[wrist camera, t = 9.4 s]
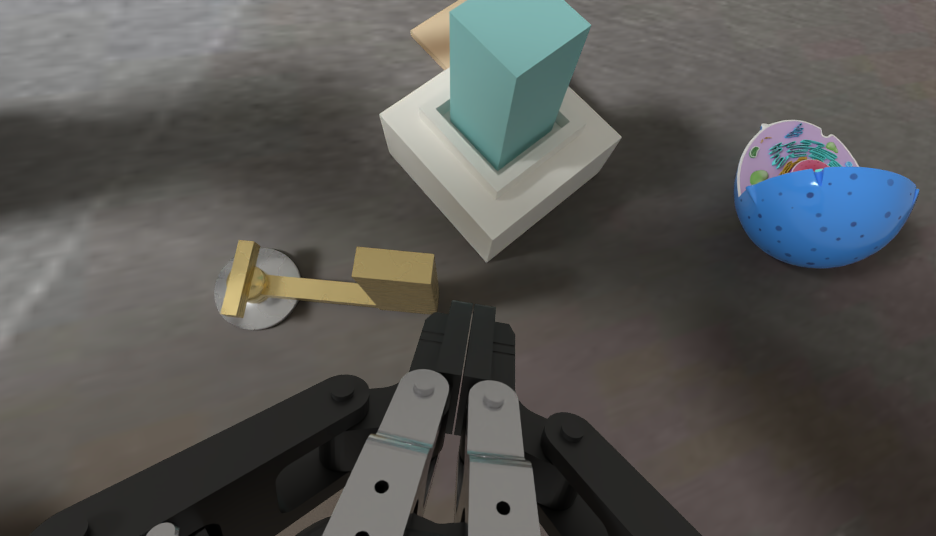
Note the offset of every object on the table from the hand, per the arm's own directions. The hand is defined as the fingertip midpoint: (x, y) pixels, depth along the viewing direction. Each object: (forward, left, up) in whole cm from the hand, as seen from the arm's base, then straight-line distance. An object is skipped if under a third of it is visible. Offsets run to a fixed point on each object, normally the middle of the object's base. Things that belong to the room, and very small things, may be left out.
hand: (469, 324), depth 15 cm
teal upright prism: (-10, +12, -11) cm, 20 cm away
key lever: (-9, -4, -16) cm, 19 cm away
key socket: (-13, -8, -16) cm, 23 cm away
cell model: (+7, +26, -17) cm, 32 cm away
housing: (-10, +12, -16) cm, 23 cm away
